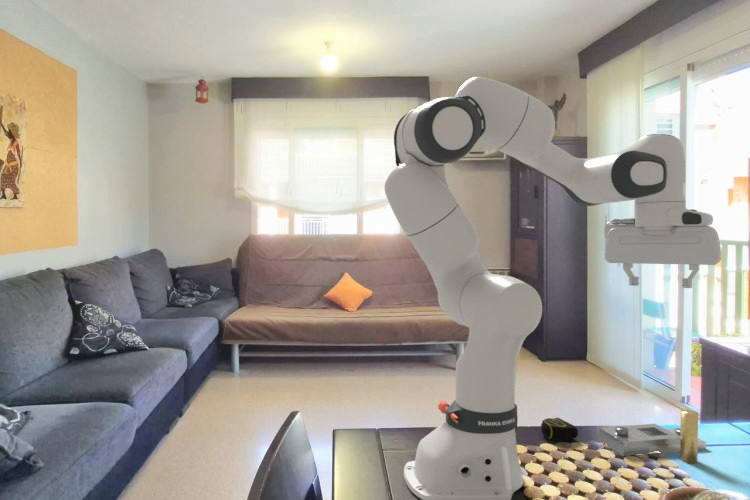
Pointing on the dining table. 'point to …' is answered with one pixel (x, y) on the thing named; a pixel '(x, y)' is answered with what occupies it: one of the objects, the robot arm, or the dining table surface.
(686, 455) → the pin
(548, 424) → the tape measure
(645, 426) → the gray slab
